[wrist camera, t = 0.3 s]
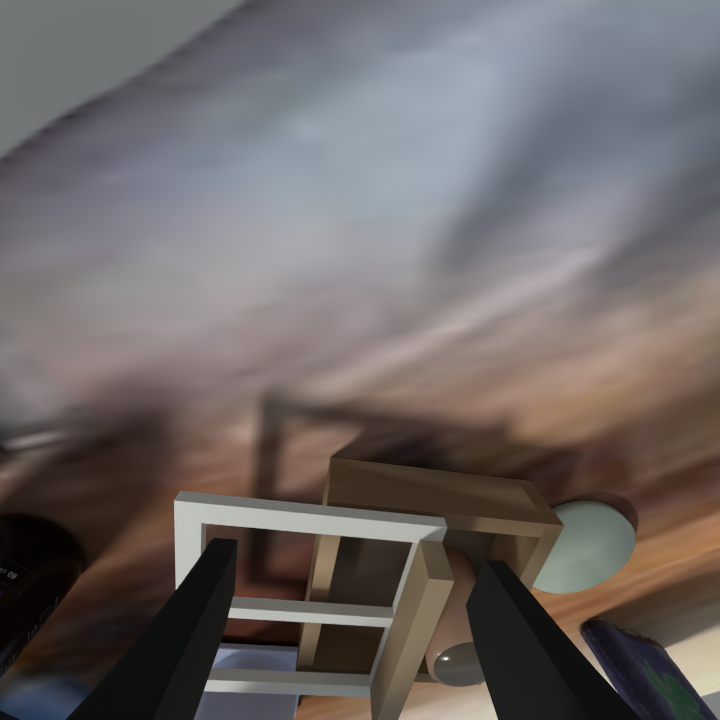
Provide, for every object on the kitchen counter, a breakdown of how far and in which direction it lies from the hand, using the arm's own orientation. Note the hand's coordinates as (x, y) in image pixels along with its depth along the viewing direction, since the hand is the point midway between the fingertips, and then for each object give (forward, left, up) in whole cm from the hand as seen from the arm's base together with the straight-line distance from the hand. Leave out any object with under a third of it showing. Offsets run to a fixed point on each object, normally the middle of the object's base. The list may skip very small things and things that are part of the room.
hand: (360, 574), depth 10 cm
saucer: (-9, -17, -10) cm, 22 cm away
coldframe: (-11, -6, -10) cm, 16 cm away
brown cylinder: (-12, -8, -9) cm, 17 cm away
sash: (-11, +1, -6) cm, 13 cm away
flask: (-19, -26, -10) cm, 34 cm away
